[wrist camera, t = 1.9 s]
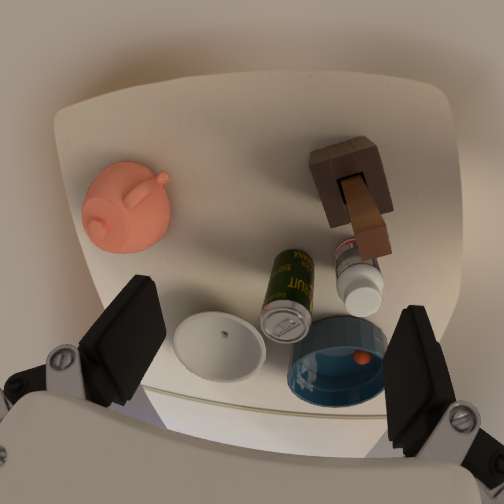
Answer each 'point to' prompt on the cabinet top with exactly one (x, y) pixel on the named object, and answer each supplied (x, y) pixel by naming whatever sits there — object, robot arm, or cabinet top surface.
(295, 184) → the cabinet top surface
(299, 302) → the green drink can
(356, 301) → the pill bottle
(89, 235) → the pink teapot
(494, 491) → the robot arm
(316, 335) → the bowl
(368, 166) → the stick stand
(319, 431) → the cabinet top surface
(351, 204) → the brown wooden stick
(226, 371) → the dish
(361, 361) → the ball
